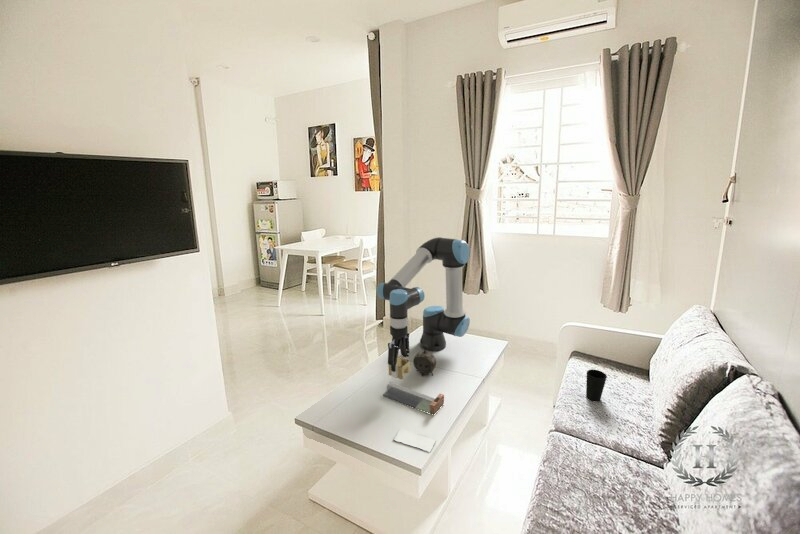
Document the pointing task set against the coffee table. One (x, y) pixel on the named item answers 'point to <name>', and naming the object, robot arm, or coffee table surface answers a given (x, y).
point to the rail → (414, 398)
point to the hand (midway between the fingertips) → (399, 373)
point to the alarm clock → (424, 362)
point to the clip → (401, 367)
